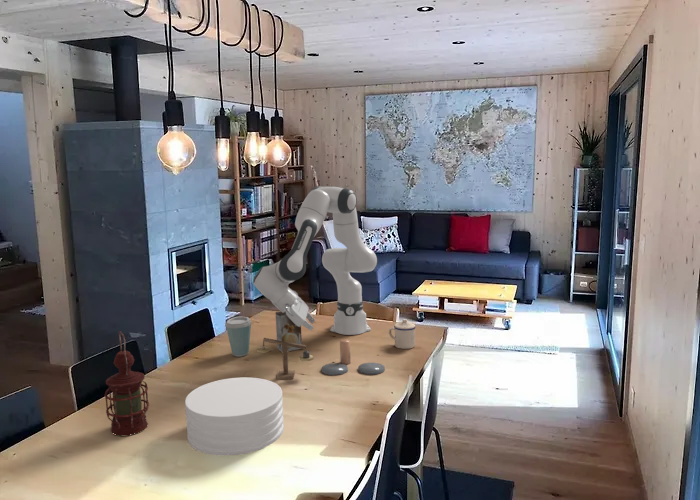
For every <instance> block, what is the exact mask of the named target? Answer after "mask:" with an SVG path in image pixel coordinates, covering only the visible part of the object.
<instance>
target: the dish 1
mask: <svg viewBox="0 0 700 500" xmlns="http://www.w3.org/2000/svg"><path fill="white" fill-rule="evenodd" d="M348 371H349V367H348V365H345V364H341V363H340V362H331V363H326V364H324V365H322V366H321V373H323V374H324V375H327V376H340V375H344V374H346V373H348Z"/></svg>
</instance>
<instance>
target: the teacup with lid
mask: <svg viewBox="0 0 700 500" xmlns="http://www.w3.org/2000/svg"><path fill="white" fill-rule="evenodd" d="M392 330H394V336H393V334H392ZM388 334H389V336H390V338H391V339H393V340H394V347H395V348H397V349H403V350H408V349H413V348H414V347H415V346H416V325H415V323H412V322H410V321H408V319H407V318H402V321H400V322H397V323H395V324H394V326H393V327H390V328H389V330H388Z"/></svg>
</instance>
